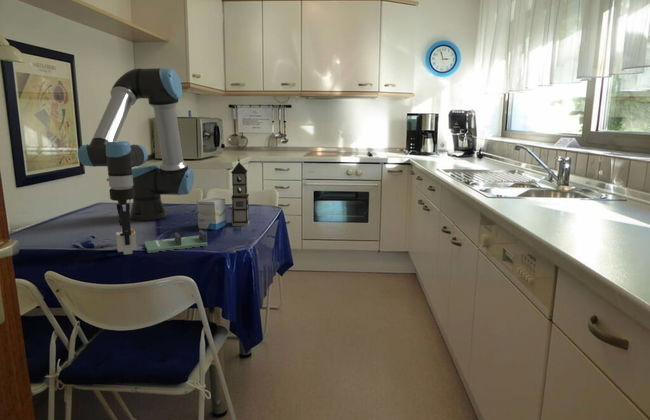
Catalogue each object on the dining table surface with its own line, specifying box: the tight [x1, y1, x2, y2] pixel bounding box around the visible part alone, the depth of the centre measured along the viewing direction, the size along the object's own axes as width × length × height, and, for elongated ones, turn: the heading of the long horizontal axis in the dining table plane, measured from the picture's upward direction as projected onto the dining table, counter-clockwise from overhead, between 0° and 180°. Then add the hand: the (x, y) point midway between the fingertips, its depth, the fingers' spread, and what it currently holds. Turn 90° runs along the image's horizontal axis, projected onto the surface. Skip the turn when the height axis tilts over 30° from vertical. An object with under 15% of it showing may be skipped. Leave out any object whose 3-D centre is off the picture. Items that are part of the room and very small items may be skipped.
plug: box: [115, 227, 138, 253], centre depth 158 cm, size 4×6×7 cm, turn 117°
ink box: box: [196, 197, 227, 231], centre depth 189 cm, size 9×8×12 cm
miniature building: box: [230, 158, 250, 227], centre depth 192 cm, size 7×7×30 cm
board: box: [143, 229, 209, 254], centre depth 164 cm, size 12×20×4 cm, turn 117°
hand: (126, 248), depth 159 cm, fingers open, 12 cm apart
